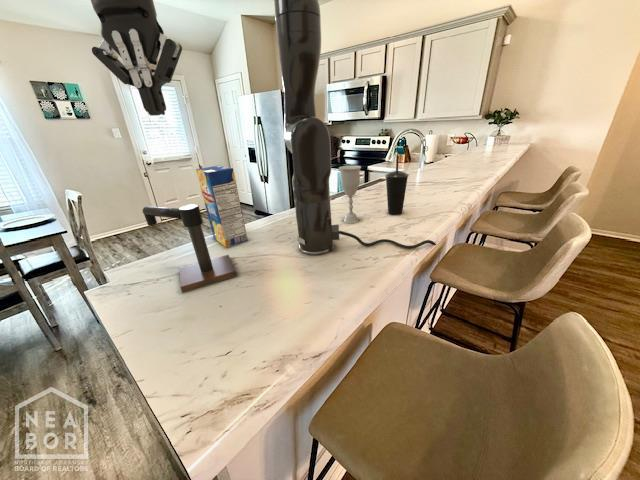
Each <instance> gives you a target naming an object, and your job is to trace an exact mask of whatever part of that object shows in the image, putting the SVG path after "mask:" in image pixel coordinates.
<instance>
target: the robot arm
mask: <svg viewBox="0 0 640 480" xmlns="http://www.w3.org/2000/svg"><path fill="white" fill-rule="evenodd" d="M90 2H91V5H92V8H93V11H94V13H95V14H96V15H97V18H98V19H99V21H100V34H101V37H102V41H101V42H100V44H99V46H92V47H91V53H92V54H93V55H94V57H96V59H98V61H99V62H100V63H101V64H103V65H104V66H105V67H106V68H107V69H108V70H109V71H110V72H111V73H112V74H113V75H114V76H115V77H116V78H117V79H118V80H119V81H120V82H122V83H123V84H124V85H127V86H132V87H135V88H136V89H137V91H138V93H139V97H140V100H141V103H142V106H143V109H144V111H146V113H148V115H149V116H151V117H152V116H154V117H156V116H165V115H166V111H167V104H166V101H165V97H164V95H163V92H162V87H163V86H165V85H166V84H170V83H171V82H172V79H173V76H174V73H175V71H176V68H177V65H178V62H179V59H180V57H181V54H182V51H183V47H182V44H180V42H177V41H175V40H173V39H171V38H170V37H168V36H167V35H165V33H164V29H163V28H162V26H161V25H160V23H159V20H158V19H157V17H158V16H157V11H156V7H155V2H154V0H90ZM273 2H274V19H275V30H276V42H277V48H278V59H279V66H280V67H279V68H280V73H281V81H282V87H283V97H284V130H283V131H284V134H283V135H284V142H285V146H286V148H287V149H288V151H289V152H290V154H292V165H293V175H292V178H291V181H292V182H291V185H292V190H293V192H292V193H293V201H294V210H295V218H296V226H297V234H298V236H297V237H296V238H297V242H298V244H299V246H298V248H299V251H300V252H301V253H303V254H306V255H311V256H316V255H317V256H318V255H323V254H327V253H329V252H333V251H334V241H340V235H343V236H346V237H349V238H352V239H355V241H357V242H358V243H359V245H361V246H364V247H372V246H375V245H378V244H381V243H388V244H392V245H394V246H396V247H399V248H402V249H406V250H407V249H408V250H411V249H417V248H419V247H422V246H424V245H426V244H430V245H432V246H437V243H436V242H435V241H434V240H431V239H426V240H422V241H420V242H418V243H416V244H413V245H406V244H402V243H400V242H397V241H395V240H392V239H387V238H382V239H377V240H375V241H372V242H364V241H363V240H362V239H361V238H360V237H359V236H356V235H355V234H353V233H349V232H347V231H342V230H340V225H339V224H333V221H332V220H333V219H332V208H331V193H330V177H331V174H332V150H331V149H332V146H331V145H332V144H331V135H330V131H329V128H328V126H327V125H326V123H325V122H324V121H323V120H322V119H320V118H319V117H317V113H316V100H315V99H316V98H315V96H316V95H315V94H316V84H317V78H318V73H319V67H320V62H321V53H322V21H321V18H322V17H321V8H320V2H319V0H273ZM119 57H120V58H121V60H122V61H121V60H119ZM122 62H123V63H122Z"/></svg>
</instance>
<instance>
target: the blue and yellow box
mask: <svg viewBox="0 0 640 480" xmlns="http://www.w3.org/2000/svg"><path fill="white" fill-rule="evenodd" d="M195 172H196V176H197V180H198V184H199V187H200V190H201V194H202V198H203V203H204V206H205V210H206V214H207V217H208V222H209V226H210V229H211V232H212V236H213V239H215V241H216V242H217V243H220V244H221V245H222V246H224V247H225V248H231V247H233V246H237V245H239V244H242V243H245V242H248V241H249V238H248V235H247V229H246V224H245V220H244V215H243V209H242V206H241V200H240V195H239V191H238V190H239V189H238V186H237V181H236V177H235V171H234V168H233V167H229V166H223V165H214V166H208V167H202V168H201V167H200V168H196V169H195ZM215 234H216V235H215Z"/></svg>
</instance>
